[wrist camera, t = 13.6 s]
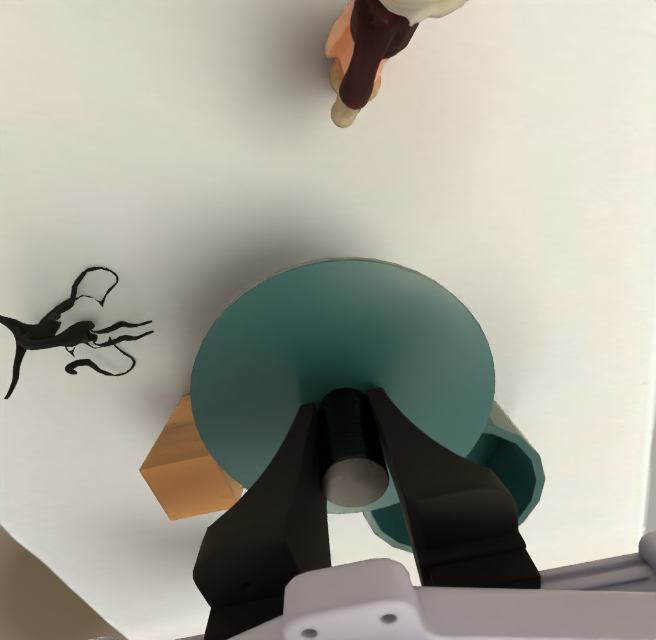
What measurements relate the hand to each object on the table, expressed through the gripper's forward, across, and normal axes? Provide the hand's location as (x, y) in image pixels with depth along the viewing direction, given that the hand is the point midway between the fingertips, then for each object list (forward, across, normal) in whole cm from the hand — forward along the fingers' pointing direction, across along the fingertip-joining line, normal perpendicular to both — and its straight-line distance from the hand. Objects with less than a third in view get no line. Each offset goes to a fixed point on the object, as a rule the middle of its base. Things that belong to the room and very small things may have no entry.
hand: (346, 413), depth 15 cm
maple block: (+10, +10, +5) cm, 15 cm away
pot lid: (+1, 0, 0) cm, 1 cm away
